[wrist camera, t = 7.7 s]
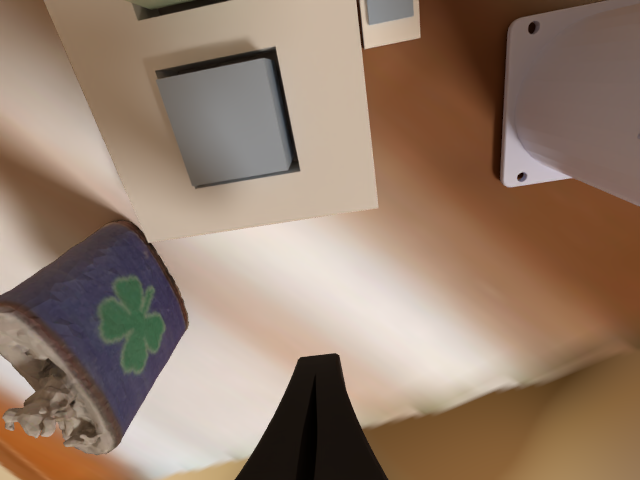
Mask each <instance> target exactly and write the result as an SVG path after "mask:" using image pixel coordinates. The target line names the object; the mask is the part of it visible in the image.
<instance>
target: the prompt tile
mask: <svg viewBox="0 0 640 480" xmlns="http://www.w3.org/2000/svg"><path fill="white" fill-rule="evenodd" d="M359 6H360V15H361V25H362V34H363V44H364V49H368V48H373V47H378V46H383V45H388V44H393V43H398V42H403V41H408V40H413V39H418V38H420V15H419V0H359Z"/></svg>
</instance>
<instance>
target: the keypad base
mask: <svg viewBox="0 0 640 480" xmlns="http://www.w3.org/2000/svg"><path fill="white" fill-rule="evenodd" d="M43 1H44V3H45V5H46V7H47V10H48V12H49V14H50V17H51V19H52V21H53V24H54V26H55V28H56V31H57V33H58V35H59V38H60V40H61V42H62V44H63V47H64V49H65V51H66V54H67V56H68V58H69V61H70V63H71V65H72V68H73V70H74V72H75V75H76V77H77V79H78V81H79V84H80V86H81V88H82V91H83V93H84V95H85V98H86V100H87V102H88V105H89V107H90V109H91V112H92V114H93V116H94V119H95V121H96V123H97V125H98V128H99V130H100V132H101V135H102V137H103V139H104V142H105V144H106V146H107V149H108V151H109V153H110V156H111V158H112V160H113V162H114V165H115V167H116V169H117V172H118V174H119V176H120V179H121V181H122V183H123V186H124V188H125V190H126V193H127V195H128V197H129V199H130V202H131V204H132V206H133V209H134V211H135V213H136V216H137V218H138V220H139V223H140V225H141V227H142V230H143V232H144V234H145V237H146V239H147V241H148V243H151V242H158V241H165V240H171V239H178V238H184V237H191V236H197V235H204V234H211V233H217V232H224V231H230V230H237V229H244V228H250V227H257V226H263V225H270V224H276V223H283V222H290V221H296V220H303V219H309V218H316V217H322V216H329V215H336V214H342V213H349V212H355V211H362V210H369V209H375V208H378V199H377V189H376V180H375V171H374V161H373V152H372V143H371V134H370V124H369V115H368V106H367V96H366V87H365V78H364V68H363V59H362V50H361V41H360V31H359V22H358V13H357V3H356V0H194V1H190V2H185V3H181V4H176V5H172V6H167V7H163V8H158V9H154V10H150V9H147V8H145V7H142V6H139V5H136V4H133V3H131V2H128V1H125V0H43ZM261 58H266V59H270V60H274V61H275V66H276V71H277V76H278V81H279V86H280V91H281V95H282V100H283V105H284V110H285V115H286V120H287V125H288V130H289V134H290V139H291V144H292V149H293V154H294V158H293V160H292V162H291V164H290V167H289V169H288V170H286V171H280V172H274V173H268V174H262V175H256V176H251V177H245V178H239V179H233V180H227V181H221V182H215V183H209V184H203V185H197V186H192V184H191V181H190V178H189V175H188V173H187V170H186V167H185V164H184V161H183V158H182V155H181V152H180V149H179V146H178V143H177V141H176V138H175V135H174V132H173V129H172V126H171V123H170V120H169V117H168V114H167V112H166V109H165V106H164V103H163V100H162V97H161V94H160V91H159V88H158V85H157V82H156V80H157V79H162V78H166V77H171V76H176V75H181V74H186V73H191V72H196V71H201V70H206V69H211V68H216V67H221V66H226V65H231V64H236V63H241V62H246V61H251V60H256V59H261Z"/></svg>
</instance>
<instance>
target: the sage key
mask: <svg viewBox="0 0 640 480" xmlns="http://www.w3.org/2000/svg"><path fill="white" fill-rule="evenodd" d="M125 1H128V2H131V3H133V4H136V5H139V6H142V7H145V8H147V9H150V10H154V9H158V8H163V7H167V6H172V5H176V4H181V3H185V2H190V1H194V0H125Z"/></svg>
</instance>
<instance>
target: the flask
mask: <svg viewBox="0 0 640 480" xmlns="http://www.w3.org/2000/svg"><path fill="white" fill-rule="evenodd" d="M188 325H189V322H188V313H187V311H186V308H185V306H184V301H183V299H182V297H181V293H180V292H179V288H178V287H177V286H176V284H175V281H174V279H172V278H171V276H170V275H169V273H168V269H167V268H166V267H165V265H164V263H163V262H162V260H161V258H160V256H158V254H157V252H156V250H155V249H154V247H153V246H152V245H151V243H148V241H147V239H146V237H145V235H144V234H143V233H142V232H141V231H140V230H139V229H138V228H137V226H134V225H133V223H132V222H127V221H121V220H120V221H115V222H110V223H108V224H106V225H104V226H103V227H102V228H100V229H99V230H98V231H96V232H95V233H94V234H92V235H91V236H89V237H88V238H87V239H86V240H84V241H83V242H81V243H79V244H77V245H75V246H74V247H72V248H71V249H70V250H68V251H67V252H66V253H64V254H63V255H62V256H60V257H59V258H58V259H57V260H56V261H54V262H53V263H51V264H49V265H48V266H46V267H44V268H42V269H41V270H40V271H38V272H37V273H35V274H34V275H33V276H31V277H30V278H28V279H27V280H25V281H24V282H22V283H21V284H19V285H18V286H16V287H15V288H13V289H12V290H10V291H8V292H6V293H4V294H2V295H0V354H1V355H2V356H3V357H4V358H5V359H6V360H8V361H9V362H10V363H11V364H12V366H13V367H14V368H15V369H16V370H17V371H18V372H19V373H20V375H22V376H23V377H24V378H25V379H26V380H27V382H28V383H29V384H30V385H31V386H32V387H33V389H34V390H35V391H36V392H35V393H34V394H33V395H31V396H30V397H29V398H28V399H27V400H25V402H24V408H11V409H8V410H7V411H6V412H5V413H4V415H3V419H4V421H5V422H6V424H5V428H6V429H8V430H10V431H13V430H14V422H19V423H20V424H21V426H22V427H23V429H24V431H25V432H26V433H27V434H28V435H30V436H34V437H35V438H38V436H39V434H40V432H41V430H42V432H41V434H40V435H41V436H44V437H49V436H51V435H52V434H53V433H54V431H55V429H56V428H55V425H56V422H58V424H59V428H60V429H61V430H62V434H63V438H64V439H65V440H66V441H65V442H63V443H64V446H65V447H75V448H76V449H79V450H81V451H83V452H85V453H89V454H95V455H100V454H107V453H109V452H110V451H112V450H113V449H114V448H116V447H117V446H118V445H119V443H120V442H121V440H122V437H123V436H124V434H125V432H126V430H127V429H128V427H129V425H130V423H131V421H132V420H133V418H134V416H135V415H136V413H137V411H138V410H139V408H140V406H141V404H142V403H143V401H144V400H145V398H146V396H147V394H148V392H149V391H150V389H151V388H152V386H153V384H154V382H155V380H156V379H157V377H158V375H159V374H160V372H161V371H162V369H163V368H164V366H165V364H166V363H167V362H168V360H169V358H170V356H171V354H172V353H173V351H174V349H175V347H176V346H177V344H178V342H179V340H180V339H181V337H182V336H183V334H184V332H185V331H186V330H187V329H188Z"/></svg>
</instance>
